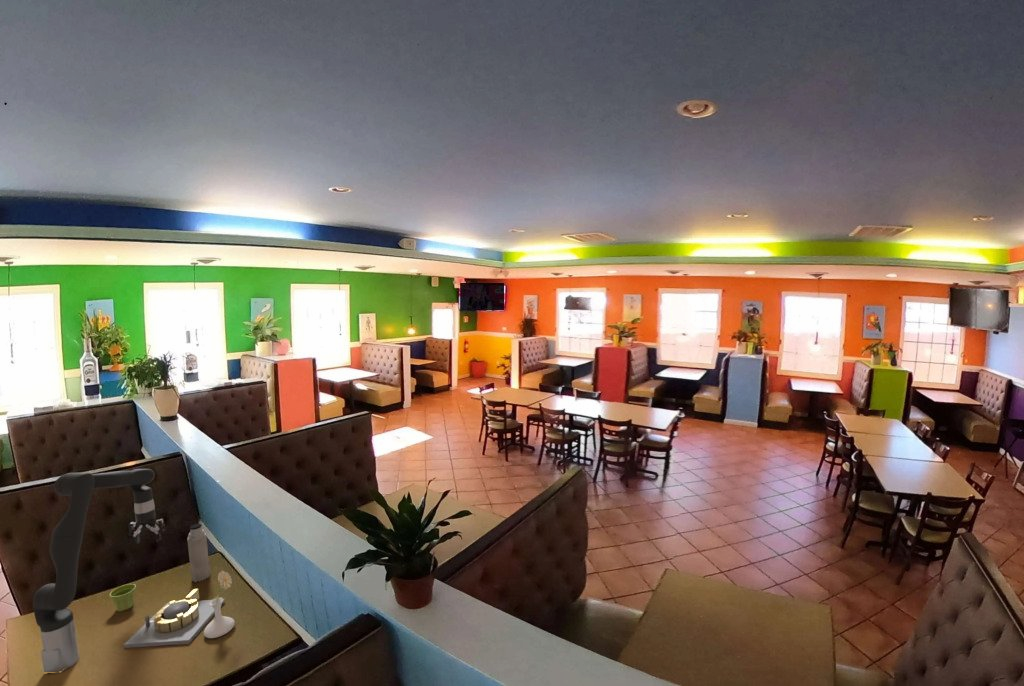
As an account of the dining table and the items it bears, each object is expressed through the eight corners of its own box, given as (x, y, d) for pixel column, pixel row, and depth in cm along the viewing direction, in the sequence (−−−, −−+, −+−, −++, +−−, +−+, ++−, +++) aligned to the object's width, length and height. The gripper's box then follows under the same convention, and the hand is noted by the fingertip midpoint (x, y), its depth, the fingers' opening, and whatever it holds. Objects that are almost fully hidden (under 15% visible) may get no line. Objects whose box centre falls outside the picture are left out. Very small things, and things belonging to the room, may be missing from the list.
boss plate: (189, 643, 191) (187, 626, 190) (123, 648, 190) (121, 631, 189) (224, 602, 217) (223, 587, 216) (166, 605, 215) (165, 590, 215)
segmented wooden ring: (184, 630, 196) (182, 619, 195) (146, 633, 195) (144, 621, 194) (214, 597, 217) (213, 587, 217) (180, 599, 216) (179, 589, 216)
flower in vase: (220, 642, 191) (214, 586, 188) (197, 639, 193) (191, 583, 191) (244, 621, 204) (239, 567, 201) (222, 618, 206) (217, 565, 203)
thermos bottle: (199, 572, 242) (194, 521, 239) (213, 572, 241) (208, 521, 238) (187, 581, 234) (182, 529, 231) (202, 582, 233) (196, 529, 230)
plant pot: (123, 615, 210) (121, 597, 209) (106, 613, 212) (104, 595, 211) (143, 601, 219) (141, 584, 218) (126, 600, 221) (124, 583, 220)
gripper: (122, 514, 215) (126, 547, 216) (157, 511, 218) (160, 543, 219) (132, 507, 222) (136, 539, 224) (165, 504, 225) (169, 535, 227)
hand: (148, 541), depth 222 cm, fingers open, 8 cm apart
